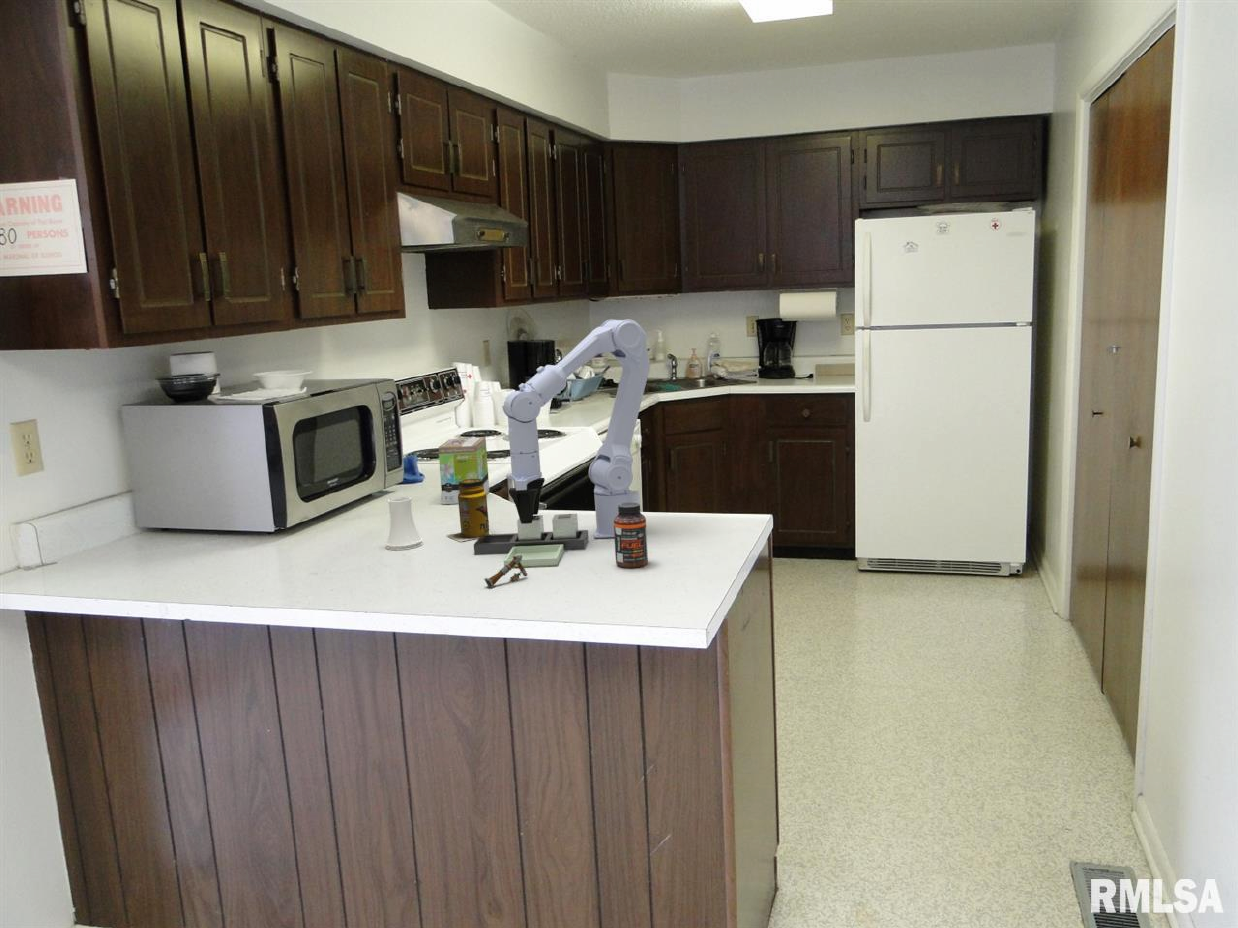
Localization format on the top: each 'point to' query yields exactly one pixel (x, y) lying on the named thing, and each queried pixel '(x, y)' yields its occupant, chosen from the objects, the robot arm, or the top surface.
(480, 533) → the condiment
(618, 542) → the supplement bottle
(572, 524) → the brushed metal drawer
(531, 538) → the grey box
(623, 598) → the top surface
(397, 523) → the vase
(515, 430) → the robot arm
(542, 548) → the parts tray
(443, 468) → the tea box
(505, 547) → the rack frame
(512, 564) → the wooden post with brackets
